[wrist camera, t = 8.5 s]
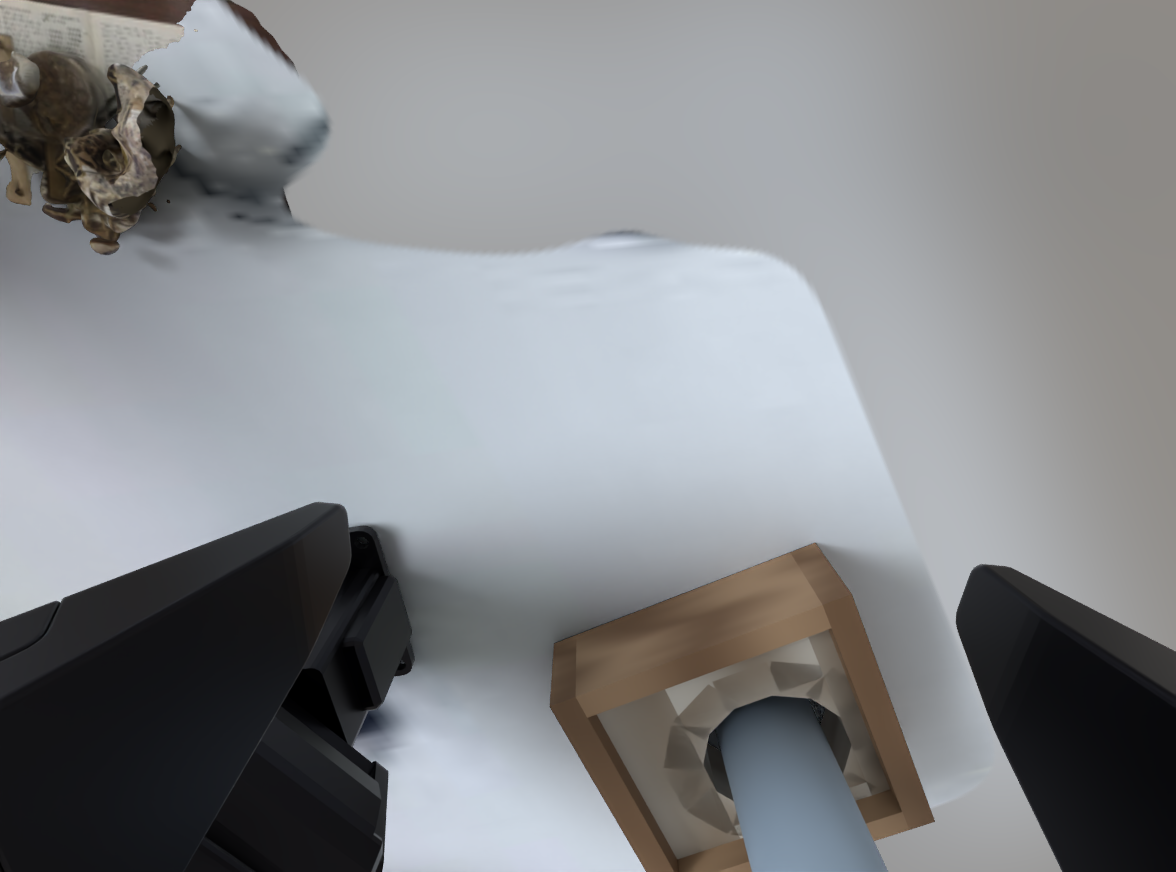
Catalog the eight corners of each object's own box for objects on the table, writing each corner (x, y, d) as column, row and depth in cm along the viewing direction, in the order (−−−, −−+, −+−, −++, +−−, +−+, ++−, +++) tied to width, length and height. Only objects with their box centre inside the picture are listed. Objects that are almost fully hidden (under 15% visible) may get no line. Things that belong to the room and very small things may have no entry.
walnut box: (657, 828, 29) (666, 907, 26) (554, 643, 26) (549, 706, 22) (892, 749, 28) (935, 821, 24) (815, 542, 24) (851, 593, 21)
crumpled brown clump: (387, 244, 20) (11, 396, 17) (363, 242, 26) (77, 357, 23) (153, -255, 15) (-437, -156, 12) (187, -121, 21) (-210, -33, 18)
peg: (694, 725, 27) (774, 1092, 16) (740, 654, 26) (861, 994, 15) (776, 756, 28) (909, 1131, 16) (824, 687, 27) (1004, 1040, 15)
